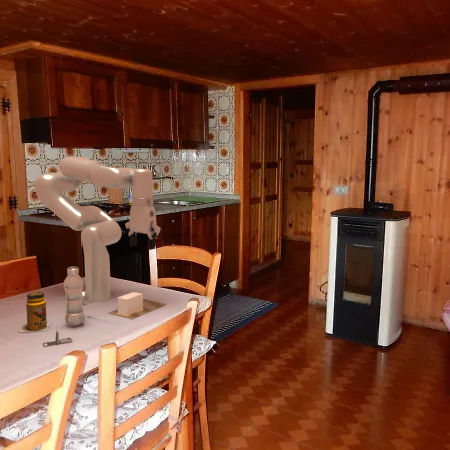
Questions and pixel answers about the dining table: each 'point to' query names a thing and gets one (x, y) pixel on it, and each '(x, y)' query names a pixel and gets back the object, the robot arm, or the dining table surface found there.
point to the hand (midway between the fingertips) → (142, 247)
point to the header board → (147, 308)
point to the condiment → (35, 313)
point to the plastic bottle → (74, 297)
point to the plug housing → (130, 303)
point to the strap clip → (61, 341)
